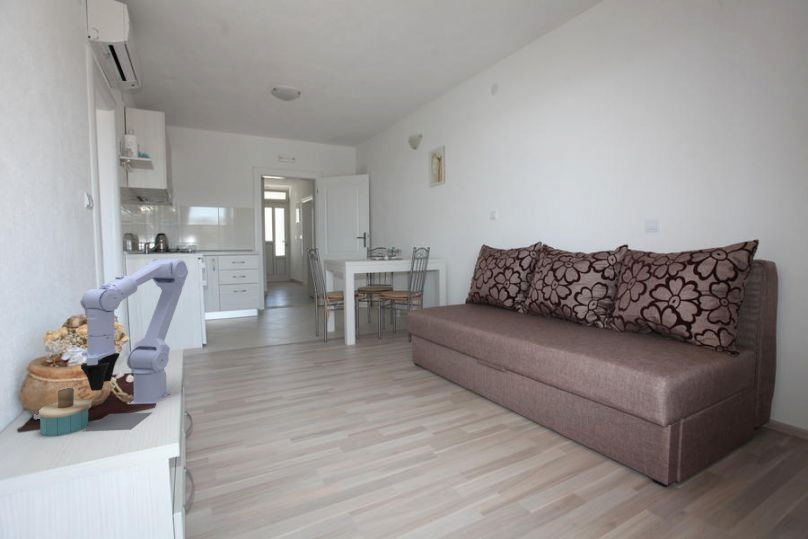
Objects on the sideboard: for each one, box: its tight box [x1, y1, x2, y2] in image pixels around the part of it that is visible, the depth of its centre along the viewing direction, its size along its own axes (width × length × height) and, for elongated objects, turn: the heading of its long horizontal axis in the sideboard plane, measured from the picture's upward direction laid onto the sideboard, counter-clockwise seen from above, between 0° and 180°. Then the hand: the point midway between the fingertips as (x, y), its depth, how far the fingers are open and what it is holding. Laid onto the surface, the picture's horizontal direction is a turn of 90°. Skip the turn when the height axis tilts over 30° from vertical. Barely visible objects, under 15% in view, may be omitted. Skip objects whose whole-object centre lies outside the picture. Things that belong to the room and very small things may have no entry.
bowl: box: [39, 409, 89, 437], centre depth 100 cm, size 9×9×5 cm
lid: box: [39, 388, 92, 418], centre depth 99 cm, size 10×10×5 cm
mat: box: [83, 412, 153, 432], centre depth 104 cm, size 11×11×1 cm
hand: (101, 385), depth 105 cm, fingers open, 7 cm apart
